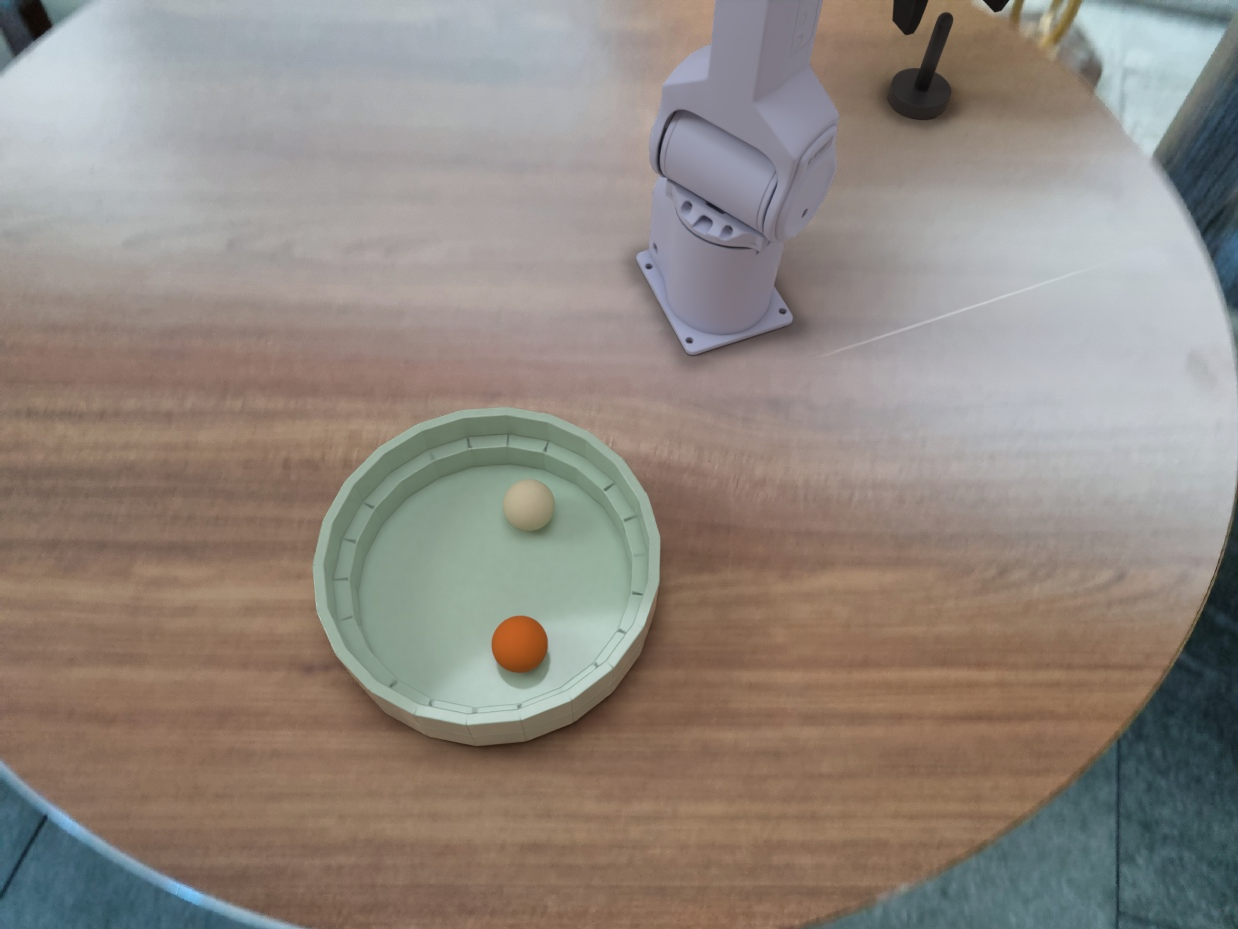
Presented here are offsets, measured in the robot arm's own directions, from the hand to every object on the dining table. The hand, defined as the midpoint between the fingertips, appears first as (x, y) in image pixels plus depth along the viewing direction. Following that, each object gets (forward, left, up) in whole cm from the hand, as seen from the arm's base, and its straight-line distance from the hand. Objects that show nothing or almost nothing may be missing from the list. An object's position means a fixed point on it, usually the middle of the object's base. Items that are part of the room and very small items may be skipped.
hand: (947, 15), depth 69 cm
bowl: (+28, -45, -7) cm, 54 cm away
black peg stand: (0, 0, -7) cm, 7 cm away
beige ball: (+25, -42, -5) cm, 49 cm away
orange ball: (+33, -45, -5) cm, 56 cm away
